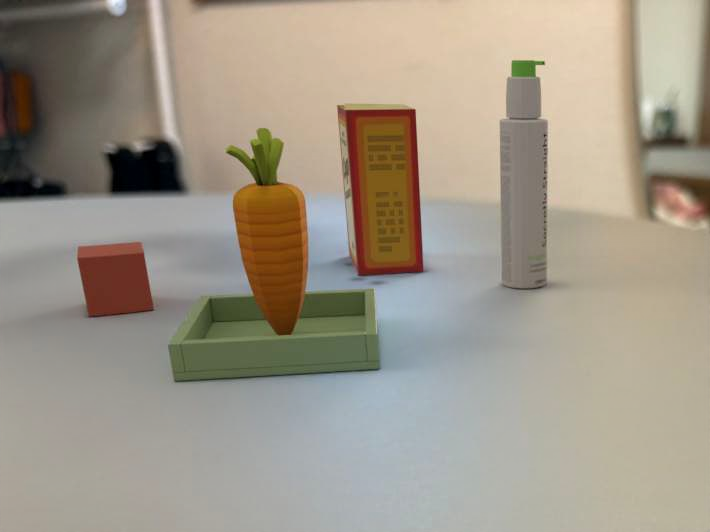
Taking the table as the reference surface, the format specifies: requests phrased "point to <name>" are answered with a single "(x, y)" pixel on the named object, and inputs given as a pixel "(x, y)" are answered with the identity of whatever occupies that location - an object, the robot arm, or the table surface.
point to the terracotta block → (114, 278)
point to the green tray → (276, 337)
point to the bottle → (524, 180)
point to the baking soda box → (381, 187)
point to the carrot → (272, 234)
